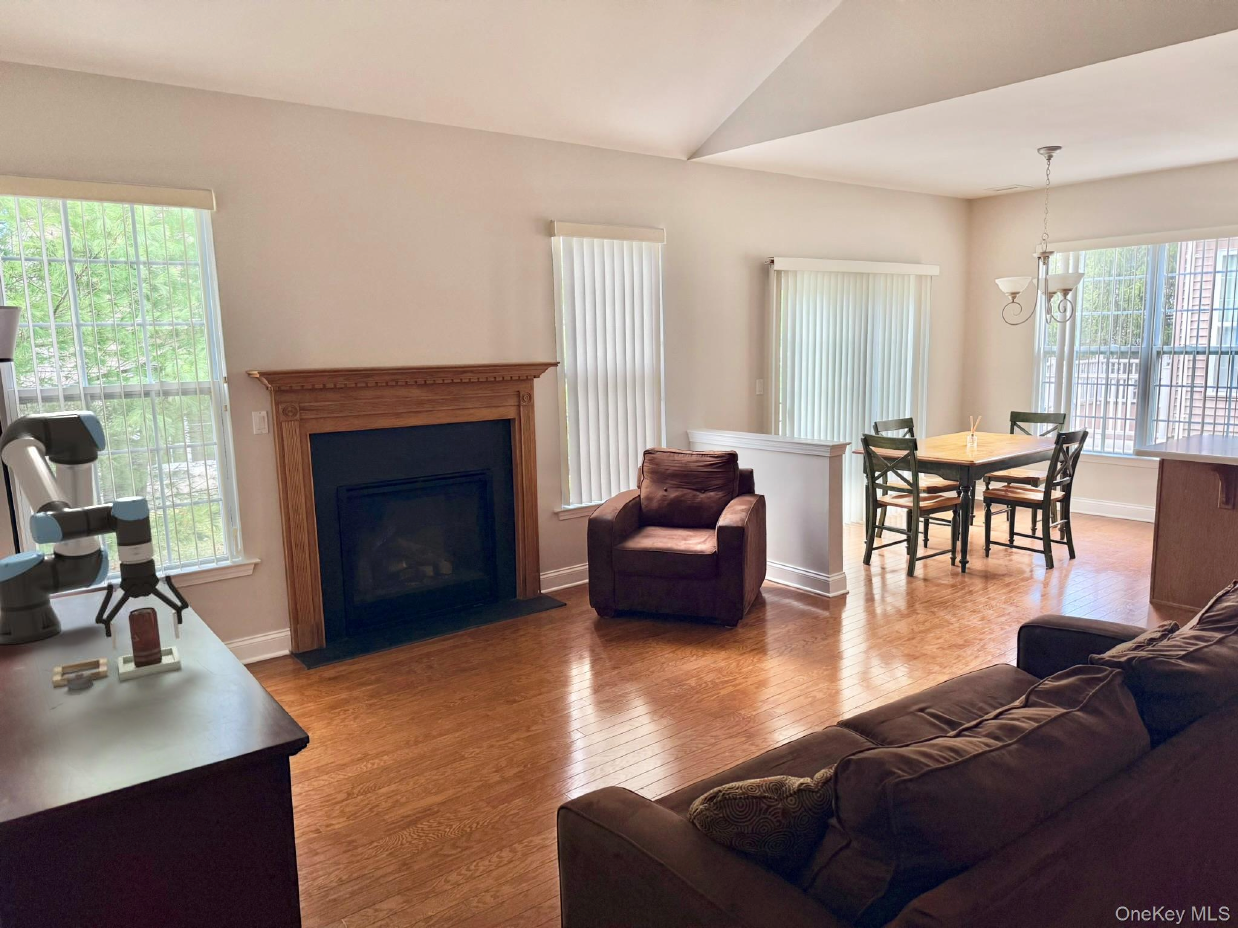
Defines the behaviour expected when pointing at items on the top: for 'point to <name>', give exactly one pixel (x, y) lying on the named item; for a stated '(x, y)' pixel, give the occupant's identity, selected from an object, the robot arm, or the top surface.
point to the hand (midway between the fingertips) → (146, 642)
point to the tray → (131, 671)
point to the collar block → (80, 674)
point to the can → (145, 637)
